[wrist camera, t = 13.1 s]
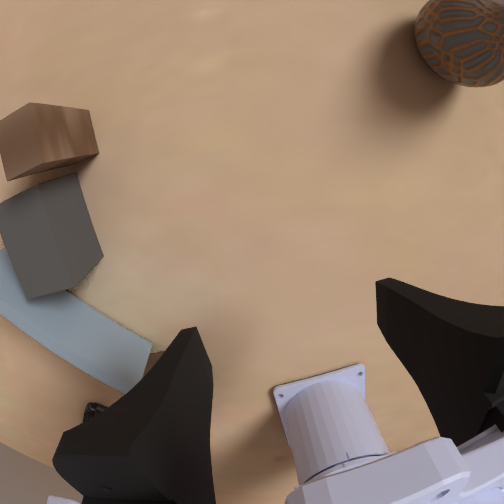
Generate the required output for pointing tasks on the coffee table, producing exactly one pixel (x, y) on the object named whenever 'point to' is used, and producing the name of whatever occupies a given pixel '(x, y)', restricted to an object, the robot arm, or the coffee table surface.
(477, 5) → the vase
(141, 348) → the door
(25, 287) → the block
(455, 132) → the coffee table surface
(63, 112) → the door frame
